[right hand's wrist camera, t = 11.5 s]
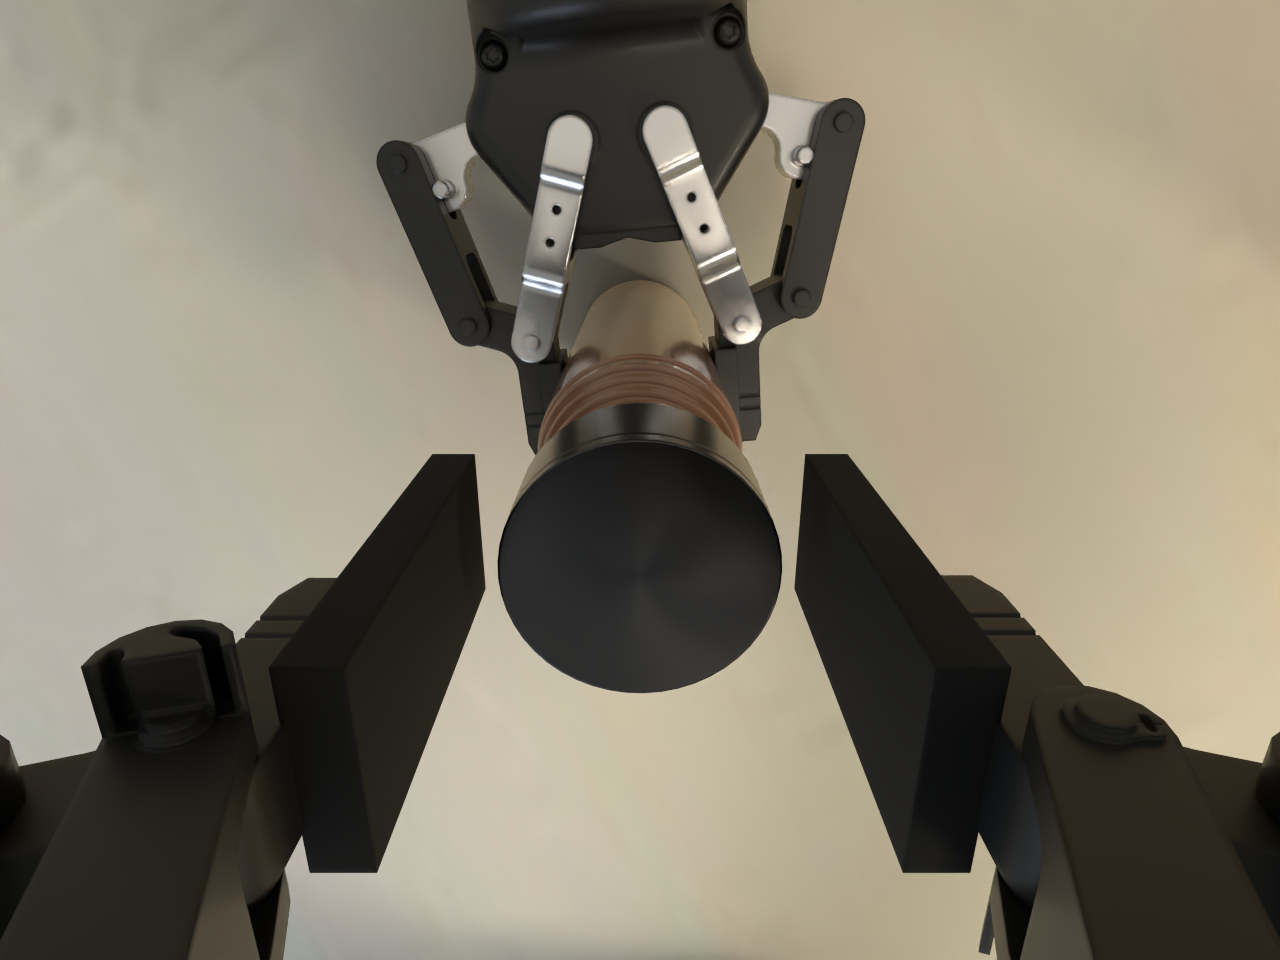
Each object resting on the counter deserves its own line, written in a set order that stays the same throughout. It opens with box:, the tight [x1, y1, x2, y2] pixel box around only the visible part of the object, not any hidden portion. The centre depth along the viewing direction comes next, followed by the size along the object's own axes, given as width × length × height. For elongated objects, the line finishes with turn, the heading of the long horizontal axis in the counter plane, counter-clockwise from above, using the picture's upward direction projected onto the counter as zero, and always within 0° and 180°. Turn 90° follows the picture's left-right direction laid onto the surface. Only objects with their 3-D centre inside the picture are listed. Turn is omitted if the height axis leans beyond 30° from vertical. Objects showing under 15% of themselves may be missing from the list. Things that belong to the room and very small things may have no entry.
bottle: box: [538, 280, 742, 452], centre depth 22 cm, size 5×5×20 cm
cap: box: [498, 403, 782, 693], centre depth 13 cm, size 5×5×2 cm
